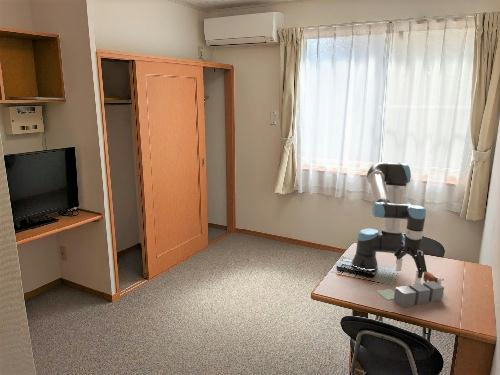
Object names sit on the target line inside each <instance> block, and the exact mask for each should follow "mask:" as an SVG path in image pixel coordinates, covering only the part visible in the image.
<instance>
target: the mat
mask: <svg viewBox="0 0 500 375" xmlns="http://www.w3.org/2000/svg"><path fill="white" fill-rule="evenodd" d="M376 293H377V294H378V295H380V296H381V297H383V299H385V300H386V301H392V300H394V293H395V290H393V289H391V288H388V289H387V288H386V289H381V290H376Z"/></svg>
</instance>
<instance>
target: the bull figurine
mask: <svg viewBox="0 0 500 375" xmlns="http://www.w3.org/2000/svg"><path fill="white" fill-rule="evenodd" d="M422 279H423V283H425V282H431V281H435V282H436V283H438V284H440V285H441V286H442V281H444V278H441V277H439V276H436V275H434V274H432V273H431V272H429V271H427V272H423V277H422Z"/></svg>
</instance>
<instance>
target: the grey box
mask: <svg viewBox="0 0 500 375" xmlns="http://www.w3.org/2000/svg"><path fill="white" fill-rule="evenodd" d="M408 287H409V288H411V289H412V290H414V291H415V292H416V297H415V303H414V305H415V304H416V305H417V306H418V305H419V306H420V305H424V304H428V303H429V302H430V301H429V295H430V289H428V288H427V287H425V286H424V285H423V283H421V282H420V283H418V284H415V283H414V284H409V286H408Z"/></svg>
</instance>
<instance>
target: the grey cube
mask: <svg viewBox="0 0 500 375" xmlns="http://www.w3.org/2000/svg"><path fill="white" fill-rule="evenodd" d="M422 285H424V286H425V287H427V288H428V289H430V295H429V301H428V302H430V303H435V302H440V301H442V300H443V296H444V291H445V286H442V284H441V285H440V284H438V283H436V282H435V281H431V282H429V281H428V282H422Z"/></svg>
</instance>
